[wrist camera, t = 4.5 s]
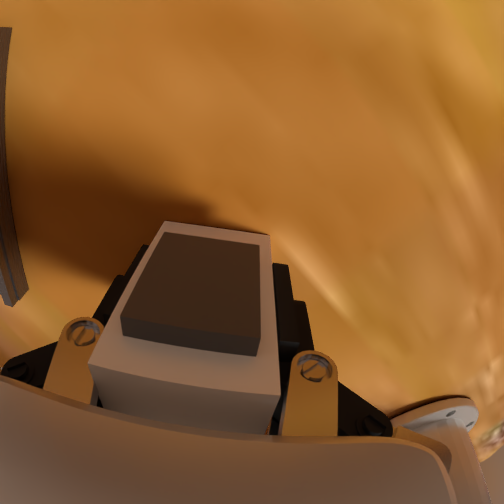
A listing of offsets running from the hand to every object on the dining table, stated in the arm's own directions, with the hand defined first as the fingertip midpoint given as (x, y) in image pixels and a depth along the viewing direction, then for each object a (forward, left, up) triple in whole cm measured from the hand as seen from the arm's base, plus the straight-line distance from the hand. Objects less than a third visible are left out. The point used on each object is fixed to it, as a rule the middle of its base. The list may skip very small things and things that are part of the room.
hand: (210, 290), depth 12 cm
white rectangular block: (0, 0, -1) cm, 1 cm away
